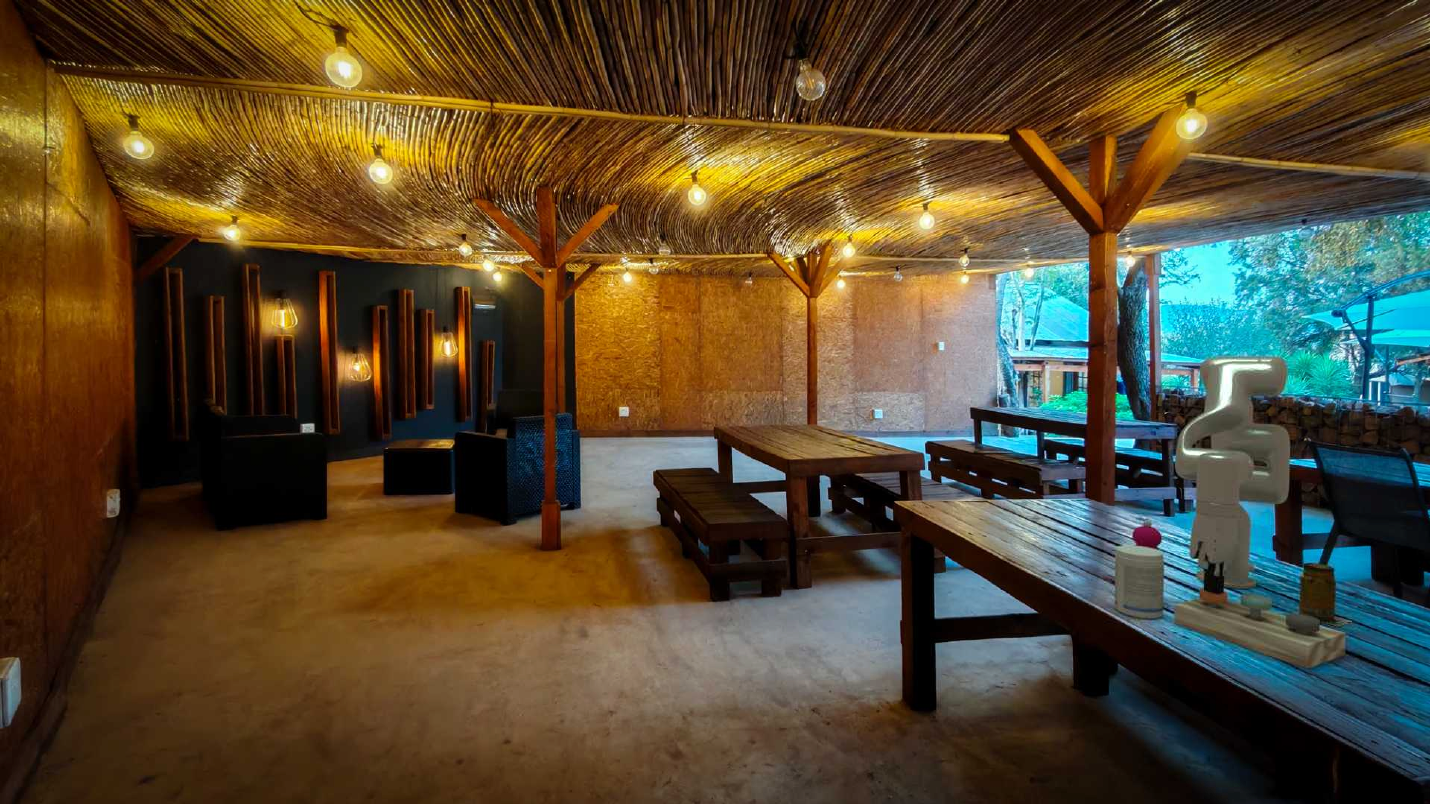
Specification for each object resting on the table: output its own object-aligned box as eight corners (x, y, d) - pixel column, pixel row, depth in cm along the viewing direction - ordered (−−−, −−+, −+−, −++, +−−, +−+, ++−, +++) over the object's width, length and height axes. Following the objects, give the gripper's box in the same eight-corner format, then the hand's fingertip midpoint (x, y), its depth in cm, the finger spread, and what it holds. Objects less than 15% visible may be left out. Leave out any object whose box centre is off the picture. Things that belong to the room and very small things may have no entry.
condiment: (1305, 609, 155) (1308, 559, 154) (1352, 622, 147) (1355, 569, 147) (1289, 614, 152) (1292, 563, 151) (1337, 627, 144) (1339, 574, 143)
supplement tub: (1173, 618, 150) (1175, 554, 149) (1138, 621, 148) (1140, 557, 147) (1137, 603, 159) (1138, 543, 158) (1104, 606, 157) (1105, 546, 156)
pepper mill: (1168, 607, 156) (1171, 524, 155) (1134, 605, 158) (1137, 522, 157) (1154, 596, 164) (1157, 517, 163) (1122, 595, 165) (1125, 516, 164)
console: (1211, 614, 152) (1211, 595, 152) (1344, 655, 130) (1345, 632, 130) (1174, 624, 146) (1174, 604, 146) (1307, 668, 124) (1308, 645, 124)
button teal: (1248, 615, 141) (1249, 592, 141) (1275, 623, 137) (1276, 599, 136) (1234, 619, 139) (1235, 595, 139) (1262, 627, 135) (1263, 603, 134)
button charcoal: (1293, 636, 134) (1294, 611, 134) (1324, 645, 130) (1325, 620, 129) (1279, 640, 132) (1280, 615, 132) (1310, 650, 127) (1311, 624, 127)
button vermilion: (1207, 608, 149) (1207, 586, 148) (1232, 616, 144) (1233, 593, 144) (1193, 612, 146) (1194, 589, 146) (1218, 620, 142) (1219, 597, 142)
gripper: (1217, 503, 151) (1214, 583, 151) (1177, 509, 144) (1174, 591, 145) (1255, 510, 144) (1252, 592, 144) (1215, 515, 137) (1212, 602, 138)
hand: (1213, 591), depth 145 cm, fingers closed
